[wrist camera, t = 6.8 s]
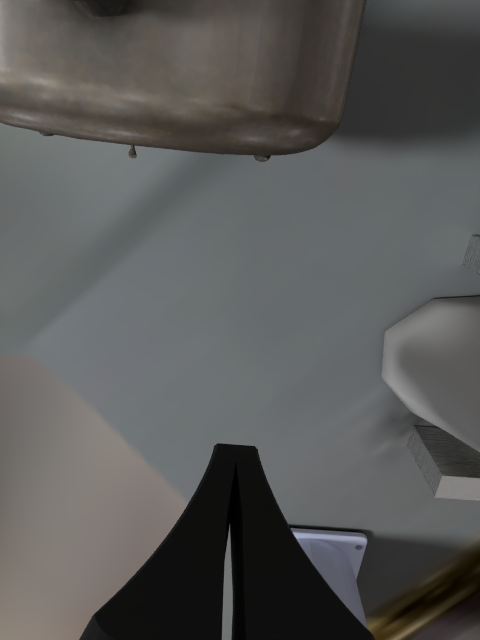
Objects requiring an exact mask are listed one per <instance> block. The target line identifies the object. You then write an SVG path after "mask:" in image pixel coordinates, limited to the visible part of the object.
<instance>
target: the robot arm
mask: <svg viewBox="0 0 480 640" xmlns="http://www.w3.org/2000/svg"><path fill="white" fill-rule="evenodd" d="M229 525H230V536H231V561H232V586H233V618H232V640H375V638H374V636H373V635H372V634H371V632H370V631H369V630H368V627H367V623H366V619H365V615H364V611H363V607H362V603H361V599H360V595H359V591H358V587H357V583H356V580H357V576H358V573H359V569H360V566H361V562H362V559H363V556H364V552H365V549H366V545H367V538H366V535H365V534H363V533H356V532H341V531H327V530H312V529H298V528H290V527H289V525H288V523H287V522H286V520H285V518H284V516H283V514H282V512H281V510H280V508H279V506H278V504H277V502H276V500H275V497H274V495H273V493H272V491H271V488H270V486H269V484H268V481H267V479H266V476H265V473H264V471H263V468H262V465H261V461H260V458H259V454H258V449H257V448H256V447H255V446H245V445H232V444H219V443H218V444H216V445H215V446H214V449H213V453H212V456H211V459H210V462H209V465H208V467H207V469H206V471H205V474H204V476H203V478H202V480H201V482H200V484H199V486H198V488H197V490H196V492H195V493H194V495H193V497H192V498H191V500H190V502H189V504H188V505H187V507H186V509H185V510H184V512H183V514H182V515H181V517H180V518H179V520H178V521H177V523H176V524H175V526H174V527H173V528H172V530H171V531H170V533H169V534H168V535H167V537H166V538H165V539H164V540H163V542H162V543H161V544H160V546H159V547H158V548H157V550H156V551H155V552H154V553H153V555H152V556H151V557H150V558H149V559H148V560H147V561H146V563H145V564H144V565H143V566H142V567H141V568H140V569H139V570H138V571H137V573H136V574H135V575H134V576H133V577H132V578H131V579H130V580H129V581H128V582H127V583H126V584H125V585H124V586H123V587H122V589H120V590H119V591H118V592H117V593H116V594H115V595H114V596H113V597H112V598H111V599H110V600H109V601H108V602H107V603H106V604H105V605H104V606H102V607H101V608H100V609H99V610H98V611H97V612H96V613H95V614H94V615H93V616H92V618H91V620H90V621H89V623H88V625H87V627H86V628H85V630H84V632H83V634H82V636H81V637H80V639H79V640H222V611H223V584H224V560H225V553H226V546H227V539H228V532H229Z"/></svg>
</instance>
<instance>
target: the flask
mask: <svg viewBox="0 0 480 640" xmlns="http://www.w3.org/2000/svg"><path fill="white" fill-rule="evenodd" d="M381 378H382V379H383V380H384V381H385V383H386V384H387V385H388V386H389V387H390V388H391V390H392V391H393V392H394V393H395V394H396V396H397V397H398V398H399V399H400V400H401V402H402V403H403V404H404V405H405V406H406V407H407V409H408V410H410V411H411V412H413V413H415V414H416V415H418V416H420V417H421V418H423V419H425V420H427V421H429V422H430V423H432V424H434V425H436V426H438V427H439V428H441V429H443V430H445V431H446V432H448V433H450V434H451V435H453V436H454V437H456V438H458V439H459V440H461V441H462V442H464V443H466V444H467V445H469V446H470V447H472V448H474V449H475V450H477V451H478V452H480V296H478V297H460V298H443V299H432V300H430V301H429V302H427V303H426V304H425V305H423V306H422V307H420V308H419V309H417V310H416V311H414V312H413V313H411V314H410V315H408V316H407V317H406V318H404V319H403V320H401V321H400V322H398V323H397V324H395V325H394V326H392V327H391V328H390V329H388V330H387V331H385V337H384V350H383V362H382V374H381Z"/></svg>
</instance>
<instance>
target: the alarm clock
mask: <svg viewBox="0 0 480 640" xmlns="http://www.w3.org/2000/svg"><path fill="white" fill-rule="evenodd" d="M365 4H366V0H0V122H1V123H4V124H6V125H10V126H15V127H19V128H24V129H30V130H34V131H38V132H39V133H40V134H42V135H44V136H52V135H61V136H66V137H72V138H77V139H85V140H94V141H102V142H110V143H118V144H127V145H131V149H130V151H129V157H130V158H136V156H137V155H136V151H135V148H134V145H136V146H145V147H155V148H164V149H174V150H183V151H191V152H202V153H216V154H234V155H254V157H255V159H256V160H257V161H260V162H263V161H267V160H269V158H270V156H271V155H287V154H294V153H300V152H303V151H307V150H310V149H313V148H315V147H317V146H318V145H320V144H321V143H323V142H324V141H326V140H327V139H328V138H329V137H330V136H331V135H332V134H333V133H334V131H335V130H336V129H337V127H338V126H339V124H340V122H341V119H342V116H343V112H344V107H345V102H346V97H347V93H348V88H349V83H350V78H351V73H352V69H353V64H354V59H355V54H356V49H357V44H358V39H359V34H360V29H361V24H362V19H363V14H364V9H365Z"/></svg>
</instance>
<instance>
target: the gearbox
mask: <svg viewBox="0 0 480 640" xmlns="http://www.w3.org/2000/svg"><path fill="white" fill-rule="evenodd" d="M463 265H464V266H466V267H467V268H469V269H471V270H473V271H474V272H476V273H478V274H479V275H480V236H477V235H472V237H471V240H470V243H469V246H468V250H467V253H466V256H465V259H464V263H463ZM407 446H408V447H409V449H410V451H411V453H412V455H413V457H414V459H415V461H416V463H417V465H418V467H419V469H420V470H421V472H422V474H423V476H424V478H425V480H426V482H427V484H428V486H429V488H430V490H431V492H432V494H433V495H434V497H436V498H450V499H465V500H479V501H480V452H478V451H477V450H475V449H474V448H472V447H470V446H469V445H467V444H466V443H464V442H462V441H461V440H459V439H458V438H456V437H454V436H453V435H451V434H450V433H448V432H446V431H445V430H443V429H441V428H438V427H424V426H413V429H412V432H411V435H410V439H409V442H408V445H407Z"/></svg>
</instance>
